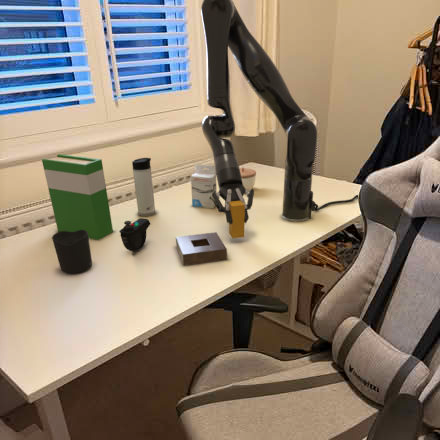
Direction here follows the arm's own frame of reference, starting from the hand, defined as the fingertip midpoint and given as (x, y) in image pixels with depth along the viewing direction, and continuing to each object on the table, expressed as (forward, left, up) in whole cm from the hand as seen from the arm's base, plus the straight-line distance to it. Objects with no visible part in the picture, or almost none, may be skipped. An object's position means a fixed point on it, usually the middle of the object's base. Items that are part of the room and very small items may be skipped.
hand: (238, 222), depth 135 cm
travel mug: (+25, -35, -7) cm, 43 cm away
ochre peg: (0, -2, -5) cm, 5 cm away
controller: (+31, -5, -7) cm, 32 cm away
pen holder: (+49, +3, -7) cm, 49 cm away
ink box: (+3, -37, -7) cm, 38 cm away
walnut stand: (+13, +4, -7) cm, 15 cm away
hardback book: (+47, -24, -7) cm, 53 cm away
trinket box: (-16, -50, -7) cm, 53 cm away
